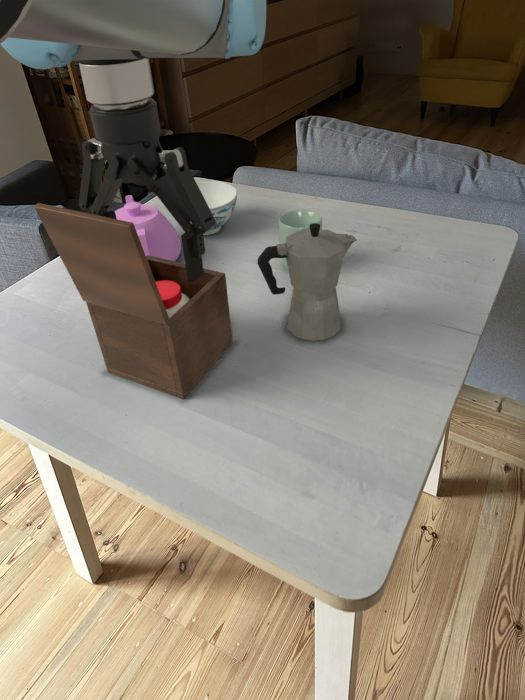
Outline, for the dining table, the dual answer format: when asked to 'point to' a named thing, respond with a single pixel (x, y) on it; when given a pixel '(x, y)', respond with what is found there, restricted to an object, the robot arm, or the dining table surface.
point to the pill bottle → (171, 296)
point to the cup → (296, 224)
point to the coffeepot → (310, 279)
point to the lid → (104, 261)
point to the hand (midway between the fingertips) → (154, 267)
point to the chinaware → (218, 201)
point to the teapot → (151, 229)
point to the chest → (168, 334)
